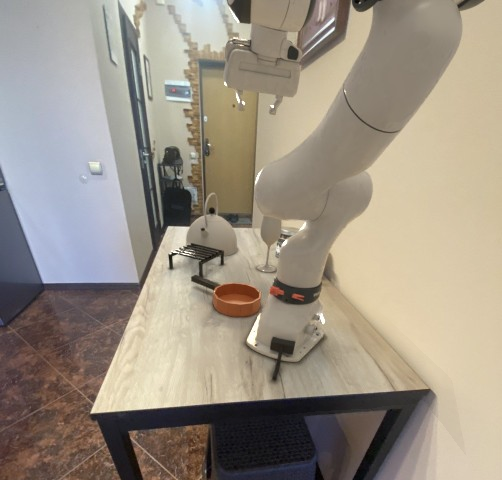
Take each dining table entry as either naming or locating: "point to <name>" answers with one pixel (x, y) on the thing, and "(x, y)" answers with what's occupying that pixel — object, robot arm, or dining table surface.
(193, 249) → the rack
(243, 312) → the pan
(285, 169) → the robot arm
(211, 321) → the dining table surface
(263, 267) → the wineglass
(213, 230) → the kettle
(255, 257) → the dining table surface
